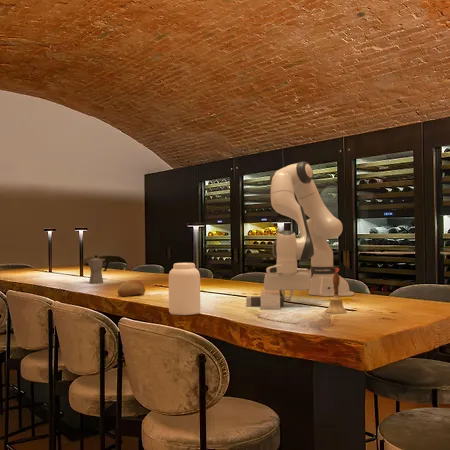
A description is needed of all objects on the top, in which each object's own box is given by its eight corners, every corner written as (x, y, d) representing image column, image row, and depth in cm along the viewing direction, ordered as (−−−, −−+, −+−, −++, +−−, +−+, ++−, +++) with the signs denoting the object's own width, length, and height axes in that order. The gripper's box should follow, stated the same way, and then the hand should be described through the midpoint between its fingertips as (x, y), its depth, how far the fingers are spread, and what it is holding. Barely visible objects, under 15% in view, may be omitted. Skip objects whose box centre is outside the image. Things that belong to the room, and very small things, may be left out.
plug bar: (283, 305, 225) (283, 296, 225) (283, 306, 221) (283, 297, 221) (246, 305, 226) (246, 296, 226) (246, 306, 222) (246, 297, 222)
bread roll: (149, 295, 267) (149, 279, 267) (123, 298, 258) (122, 281, 258) (140, 293, 275) (140, 278, 275) (114, 296, 265) (114, 280, 265)
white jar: (188, 316, 198) (187, 264, 198) (162, 314, 205) (161, 263, 205) (206, 312, 209) (205, 262, 209) (181, 309, 215) (181, 261, 216)
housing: (279, 302, 233) (279, 289, 233) (280, 309, 213) (279, 295, 213) (261, 302, 234) (261, 289, 234) (260, 309, 214) (260, 295, 214)
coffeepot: (89, 284, 327) (88, 255, 327) (83, 283, 335) (83, 255, 335) (112, 282, 336) (111, 255, 336) (106, 281, 344) (106, 254, 344)
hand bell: (347, 311, 208) (347, 271, 208) (345, 314, 200) (345, 272, 200) (327, 310, 210) (326, 270, 211) (324, 313, 203) (323, 272, 203)
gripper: (310, 267, 225) (311, 299, 225) (263, 268, 227) (264, 299, 227) (311, 268, 219) (312, 301, 219) (263, 269, 221) (263, 301, 221)
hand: (287, 300), depth 223 cm, fingers closed
